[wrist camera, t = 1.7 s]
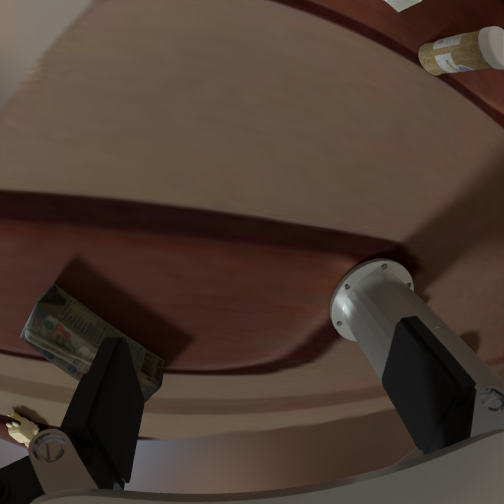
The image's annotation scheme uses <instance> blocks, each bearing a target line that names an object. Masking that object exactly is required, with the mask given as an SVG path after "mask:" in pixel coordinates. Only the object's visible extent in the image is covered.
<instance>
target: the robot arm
mask: <svg viewBox="0 0 504 504" xmlns="http://www.w3.org/2000/svg"><path fill="white" fill-rule="evenodd" d="M330 316H331V321H332V323H333V325H334V327H335V328H336V330H337V331H338V333H339V334H341V335H342V336H343V337H345V338H347V339H349V340H352V341H356V342H358V344H359V346H360V347H361V349H362V351H363V352H364V354H365V356H366V357H367V359H368V361H369V362H370V364H371V366H372V367H373V369H374V371H375V372H376V374H377V376H378V378H379V379H380V381H381V383H382V385H383V387H384V389H385V390H386V392H387V394H388V396H389V397H390V399H391V401H392V403H393V405H394V406H395V408H396V410H397V412H398V413H399V415H400V417H401V419H402V421H403V422H404V424H405V426H406V428H407V430H408V432H409V433H410V435H411V437H412V439H413V441H414V443H415V444H416V446H417V448H416V449H414V450H413V451H412V452H410V453H409V454H408V455H407V456H405V457H404V458H403V459H401V460H400V461H399V462H397V463H396V464H394V465H393V466H389V467H386V468H383V469H379V470H375V471H371V472H368V473H364V474H360V475H355V476H351V477H347V478H343V479H338V480H333V481H328V482H322V483H317V484H311V485H305V486H298V487H292V488H284V489H275V490H266V491H255V492H242V493H221V494H174V493H152V492H137V491H124V485H125V483H129V482H130V478H131V472H132V466H133V460H134V455H135V450H136V444H137V439H138V434H139V429H140V424H141V419H142V414H143V409H144V397H143V394H142V390H141V387H140V384H139V381H138V377H137V374H136V371H135V367H134V364H133V360H132V357H131V353H130V350H129V346H128V343H127V342H126V341H123V340H122V338H121V337H104V339H103V340H102V343H101V345H100V347H99V349H98V351H97V353H96V355H95V358H94V360H93V362H92V364H91V366H90V369H89V371H88V373H85V374H84V375H83V376H82V378H81V380H80V382H79V384H78V386H77V389H76V391H75V393H74V396H73V398H72V400H71V403H70V405H69V407H68V410H67V412H66V414H65V417H64V419H63V422H62V424H61V427H60V429H59V430H56V429H47V430H44V431H41V432H39V433H37V434H36V435H35V436H34V437H33V438H32V439H31V441H30V443H29V446H28V453H29V455H28V456H26V457H24V458H22V459H20V460H18V461H16V462H14V463H11V464H10V465H8V466H5V467H3V468H1V469H0V504H504V379H503V378H501V377H500V376H499V375H498V374H497V373H496V372H495V371H493V370H492V369H491V368H490V367H489V366H488V365H487V364H486V363H485V362H484V361H483V360H482V359H481V358H480V357H479V356H478V355H477V354H476V353H475V352H474V351H473V350H472V349H471V348H470V347H469V346H468V345H467V344H466V343H465V342H464V341H463V340H462V339H461V338H460V337H459V336H458V335H457V334H456V333H455V332H454V331H453V330H452V329H451V328H450V327H449V326H448V325H447V324H446V323H445V322H444V321H443V320H442V319H441V318H440V317H439V316H438V315H437V314H436V313H435V312H434V311H433V310H432V309H431V308H430V307H429V306H428V305H427V304H426V303H425V302H424V301H423V300H422V299H421V298H420V297H419V296H418V295H416V294H415V293H414V284H413V280H412V277H411V275H410V274H409V272H408V271H407V270H406V269H405V268H404V267H403V266H402V265H401V264H400V263H398V262H396V261H394V260H391V259H386V258H378V259H373V260H368V261H366V262H364V263H361V264H359V265H358V266H356V267H355V268H353V269H352V270H351V271H350V272H348V273H347V274H346V275H345V276H344V277H343V279H342V280H341V281H340V282H339V284H338V286H337V287H336V289H335V291H334V293H333V296H332V298H331V303H330ZM113 489H114V490H113Z"/></svg>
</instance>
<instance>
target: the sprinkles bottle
mask: <svg viewBox="0 0 504 504" xmlns="http://www.w3.org/2000/svg"><path fill="white" fill-rule="evenodd" d="M419 60H420V62H421V64H422V66H423V67H424V69H425V70H426V71H427V72H429V73H431V74H433V75H440V74H443V73H454V72H462V71H471V70H476V69H486V68H495V69H504V30H503V29H502V28H500V27H497V26H492V27H486V28H483V29H481V30H479V31H476V32H471V33H464V34H460V35H456V36H452V37H448V38H444V39H440V40H437V41H436V42H432V43H425V44H423V45H422V46H421V47H420V49H419Z"/></svg>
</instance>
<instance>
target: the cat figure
mask: <svg viewBox="0 0 504 504" xmlns="http://www.w3.org/2000/svg"><path fill="white" fill-rule="evenodd" d="M7 415H8V416H9V417H10V416H11V417H12V418H14V419H12V421H9V420H6V425H7V426H8V427H9V429H8V432H9V435H11V436H12V437H13V438H14V439H16V440H17V441H18V442H20V443H25V445H26V447H27V448H28V446H29V443H30V441H31V439H32V438H33V437H34V436H35V435H36V434H37V433H38V431H39V428H38V427H37V425H35V424H34V422H30V421H29V420H27V419H26V418H21V416H20V415H19V414H18V413H16V412H12V415H11V414H10V415H9V414H7ZM34 434H35V435H34ZM27 450H28V449H27Z"/></svg>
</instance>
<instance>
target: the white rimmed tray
mask: <svg viewBox="0 0 504 504" xmlns="http://www.w3.org/2000/svg"><path fill="white" fill-rule="evenodd" d="M385 1H386V2H387V3H388V4H389V5H391V6H392V7H393V8H394V9H395V10H396V11H398V12H400V11H402V10H404V9H406V8H408V7H410V6H412V5H415V4H417V3H419V2H421V1H422V0H385Z"/></svg>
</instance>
